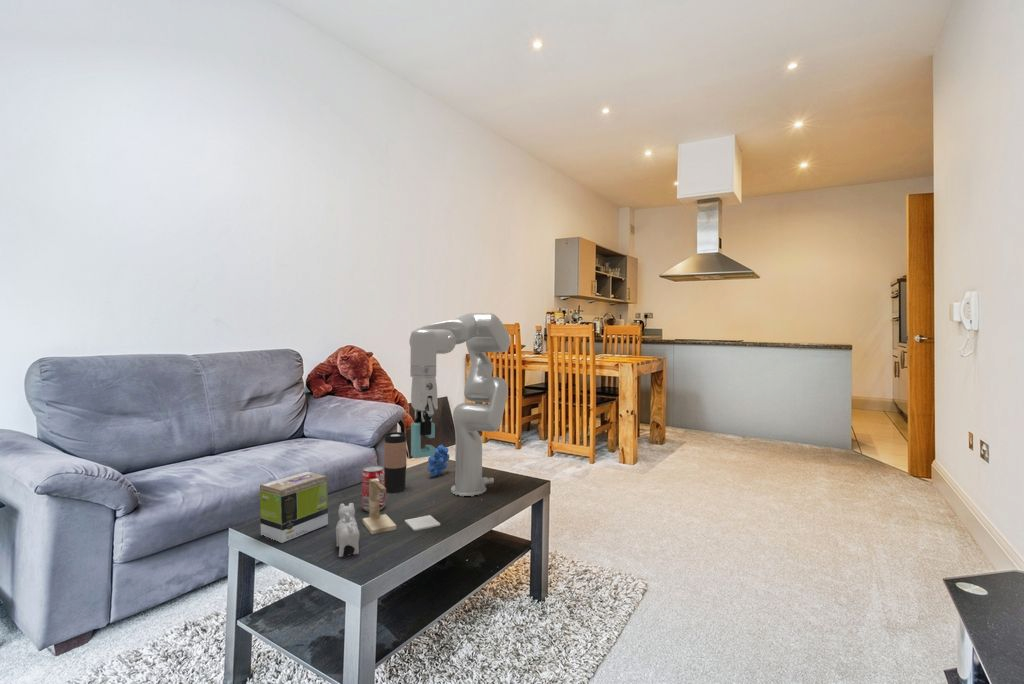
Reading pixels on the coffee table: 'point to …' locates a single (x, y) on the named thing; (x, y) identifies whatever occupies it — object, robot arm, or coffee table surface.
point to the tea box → (293, 506)
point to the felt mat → (422, 522)
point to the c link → (416, 442)
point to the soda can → (367, 474)
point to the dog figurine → (347, 529)
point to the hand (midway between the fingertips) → (423, 433)
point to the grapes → (438, 461)
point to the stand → (377, 510)
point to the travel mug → (395, 461)
